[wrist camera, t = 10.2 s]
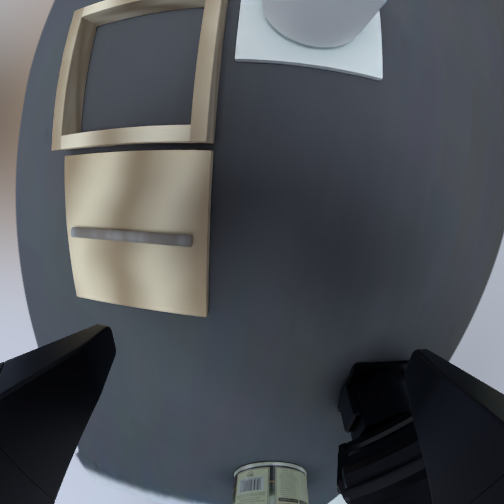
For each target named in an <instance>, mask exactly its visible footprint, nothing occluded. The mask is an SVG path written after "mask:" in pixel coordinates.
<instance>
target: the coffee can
mask: <svg viewBox="0 0 504 504" xmlns="http://www.w3.org/2000/svg"><path fill="white" fill-rule="evenodd" d="M306 476H307V472H306V471H305V469H304V468H302V467H300V466H298V465H295V464H291V463H285V462H258V463H252V464H248V465H245V466H242V467H240V468H238V469H237V470H236V471H235V473H234V485H233V494H232V504H308V493H307V480H306Z"/></svg>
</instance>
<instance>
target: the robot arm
mask: <svg viewBox="0 0 504 504" xmlns="http://www.w3.org/2000/svg"><path fill="white" fill-rule="evenodd" d="M115 354H116V347H115V343H114V338H113V334H112V330H111V328H110V327H109V326H106V325H101V324H97V325H94V326H92V327H89V328H87V329H84V330H82V331H79V332H77V333H74V334H72V335H70V336H67V337H65V338H62V339H60V340H57V341H55V342H52V343H50V344H47V345H45V346H42V347H40V348H37V349H35V350H32V351H30V352H27V353H25V354H22V355H20V356H17V357H15V358H13V359H10V360H7V361H6V362H2V363H0V504H54V503H55V499H56V497H57V494H58V491H59V489H60V486H61V483H62V481H63V478H64V476H65V473H66V471H67V468H68V466H69V463H70V461H71V459H72V457H73V454H74V452H75V449H76V447H77V445H78V443H79V440H80V438H81V436H82V434H83V431H84V429H85V427H86V425H87V423H88V421H89V418H90V416H91V414H92V412H93V410H94V408H95V406H96V404H97V402H98V400H99V397H100V395H101V393H102V390H103V387H104V385H105V382H106V379H107V376H108V374H109V371H110V368H111V366H112V363H113V360H114V358H115ZM358 368H360V369H358ZM357 369H358V370H357ZM338 402H339V405H338V411H339V412H341V415H342V420H343V424H344V429H345V431H346V432H347V433H350V432H351V436H352V441H350V442H348V443H343V444H341V445H339V453H338V471H337V486H338V488H337V490H338V493H339V494H342V496H343V498H344V500H345V501H346V503H347V504H504V394H502V393H500V392H499V391H497V390H495V389H493V388H491V387H490V386H488V385H487V384H485V383H483V382H482V381H480V380H478V379H477V378H475V377H473V376H472V375H470V374H468V373H466V372H465V371H463V370H461V369H460V368H458V367H456V366H455V365H453V364H451V363H450V362H448V361H446V360H444V359H443V358H441V357H439V356H438V355H436V354H434V353H433V352H431V351H429V350H427V349H417V350H415V351H414V352H413V353H412V356H411V358H410V360H409V361H403V362H386V363H359V364H356V365H354V367H353V369H352V371H351V374H350V377H349V380H348V382H347V383H346V384H345V385H344V388H343V391H342V393H341V396H340V398H339V401H338Z"/></svg>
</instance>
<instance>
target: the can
mask: <svg viewBox="0 0 504 504" xmlns="http://www.w3.org/2000/svg"><path fill="white" fill-rule="evenodd" d="M386 1H387V0H262V5H263V11H264V14H265V16H266V18H267V19H268V21H269V22H270V23H271V25H272V26H273V27H274V28H275V29H276V30H278V31H279V32H280V33H281V34H283V35H284V36H286V37H288V38H290V39H292V40H294V41H296V42H299V43H302V44H305V45H310V46H315V47H335V46H340V45H343V44H346V43H348V42H350V41H352V40H354V39H355V38H356V37H357V36H358V35H359V34H360V33H361V32H362V30H363V29H364V28H365V27H366V25H367V24H368V23H369V22H370V21H371V19H372V18H373V17H374V16H375V15H376V13H377V12H378V11H379V10H380V9H381V7H382V6H383V5H384V4H385V3H386Z"/></svg>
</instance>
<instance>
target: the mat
mask: <svg viewBox="0 0 504 504" xmlns="http://www.w3.org/2000/svg"><path fill="white" fill-rule="evenodd" d="M235 61H236V62H260V63H275V64H286V65H296V66H304V67H312V68H319V69H325V70H331V71H337V72H342V73H347V74H352V75H357V76H361V77H366V78H370V79H374V80H378V81H380V80H382V79H383V72H382V40H381V24H380V12H379V11H378V12H377V13H376V15H375V16H374V17H373V18H372V19H371V21H370V22H369V23H368V24H367V25H366V27H365V28H364V29H363V30H362V32H361V33H360V34H359V35H358V36H357V37H356V38H355V39H354V40H352V41H350V42H348V43H346V44H343V45H340V46H335V47H315V46H310V45H305V44H302V43H299V42H296V41H294V40H292V39H290V38H288V37H286V36H284V35H283V34H281V33H280V32H279V31H278V30H276V29H275V28H274V27H273V26H272V25H271V23H270V22H269V21H268V19H267V18H266V16H265V14H264V11H263V5H262V0H241V6H240V14H239V23H238V32H237V42H236V52H235Z"/></svg>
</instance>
